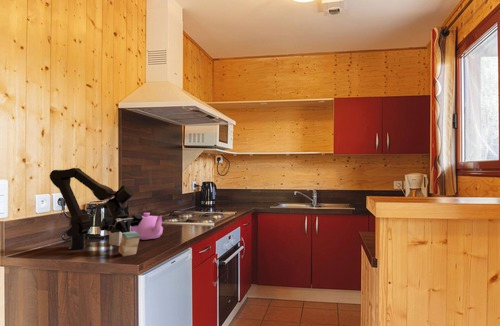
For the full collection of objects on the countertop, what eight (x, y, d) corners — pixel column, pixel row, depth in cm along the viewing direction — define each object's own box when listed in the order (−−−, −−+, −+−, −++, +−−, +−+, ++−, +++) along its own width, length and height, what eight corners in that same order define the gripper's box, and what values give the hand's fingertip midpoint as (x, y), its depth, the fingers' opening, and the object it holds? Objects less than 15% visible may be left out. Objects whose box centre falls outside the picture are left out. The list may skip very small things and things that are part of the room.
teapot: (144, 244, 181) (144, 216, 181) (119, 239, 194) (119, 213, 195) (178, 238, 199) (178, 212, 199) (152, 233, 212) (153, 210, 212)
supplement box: (118, 246, 176) (119, 220, 176) (108, 244, 180) (109, 219, 180) (130, 243, 182) (131, 218, 183) (121, 242, 186) (121, 217, 186)
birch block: (118, 251, 158) (122, 232, 156) (130, 249, 162) (134, 231, 161) (123, 256, 155) (127, 237, 153) (135, 254, 160) (140, 235, 158)
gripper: (127, 219, 177) (139, 244, 170) (89, 223, 163) (101, 251, 156) (136, 204, 172) (149, 229, 165) (98, 207, 158) (111, 235, 151)
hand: (128, 237), depth 159 cm, fingers closed
